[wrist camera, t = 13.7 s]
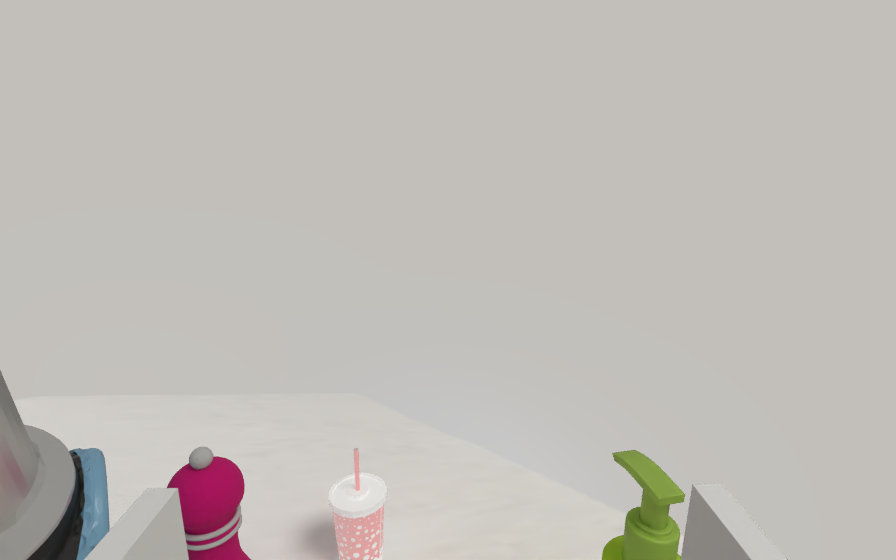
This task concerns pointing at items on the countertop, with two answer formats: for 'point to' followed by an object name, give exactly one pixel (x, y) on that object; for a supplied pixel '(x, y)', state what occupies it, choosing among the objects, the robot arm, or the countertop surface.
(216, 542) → the pepper mill
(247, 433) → the countertop surface
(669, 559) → the soap dispenser
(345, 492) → the beverage cup
